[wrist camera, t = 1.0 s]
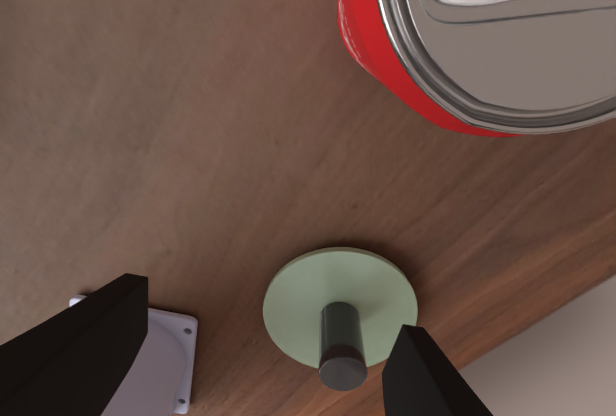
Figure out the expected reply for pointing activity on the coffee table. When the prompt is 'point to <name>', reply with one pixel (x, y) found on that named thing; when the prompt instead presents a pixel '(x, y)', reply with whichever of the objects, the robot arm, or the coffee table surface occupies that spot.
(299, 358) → the cover
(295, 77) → the coffee table surface
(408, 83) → the beverage can
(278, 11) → the coffee table surface
